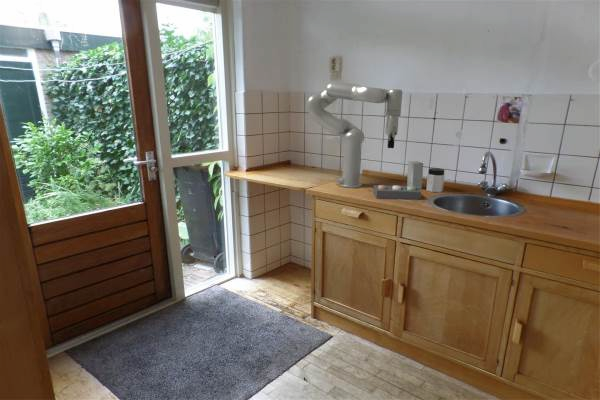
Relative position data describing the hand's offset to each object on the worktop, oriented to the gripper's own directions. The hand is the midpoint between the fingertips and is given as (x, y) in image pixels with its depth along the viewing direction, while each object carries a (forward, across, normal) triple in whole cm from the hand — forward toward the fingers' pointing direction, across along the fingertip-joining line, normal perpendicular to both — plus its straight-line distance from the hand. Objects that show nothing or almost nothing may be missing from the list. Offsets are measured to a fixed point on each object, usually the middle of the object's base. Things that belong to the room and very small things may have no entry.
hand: (390, 147), depth 212 cm
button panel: (+23, +15, +2) cm, 28 cm away
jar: (+23, 0, +26) cm, 35 cm away
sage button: (+21, +15, +10) cm, 28 cm away
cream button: (+21, +15, +2) cm, 26 cm away
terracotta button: (+21, +15, -6) cm, 27 cm away
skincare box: (+23, -6, +16) cm, 29 cm away
